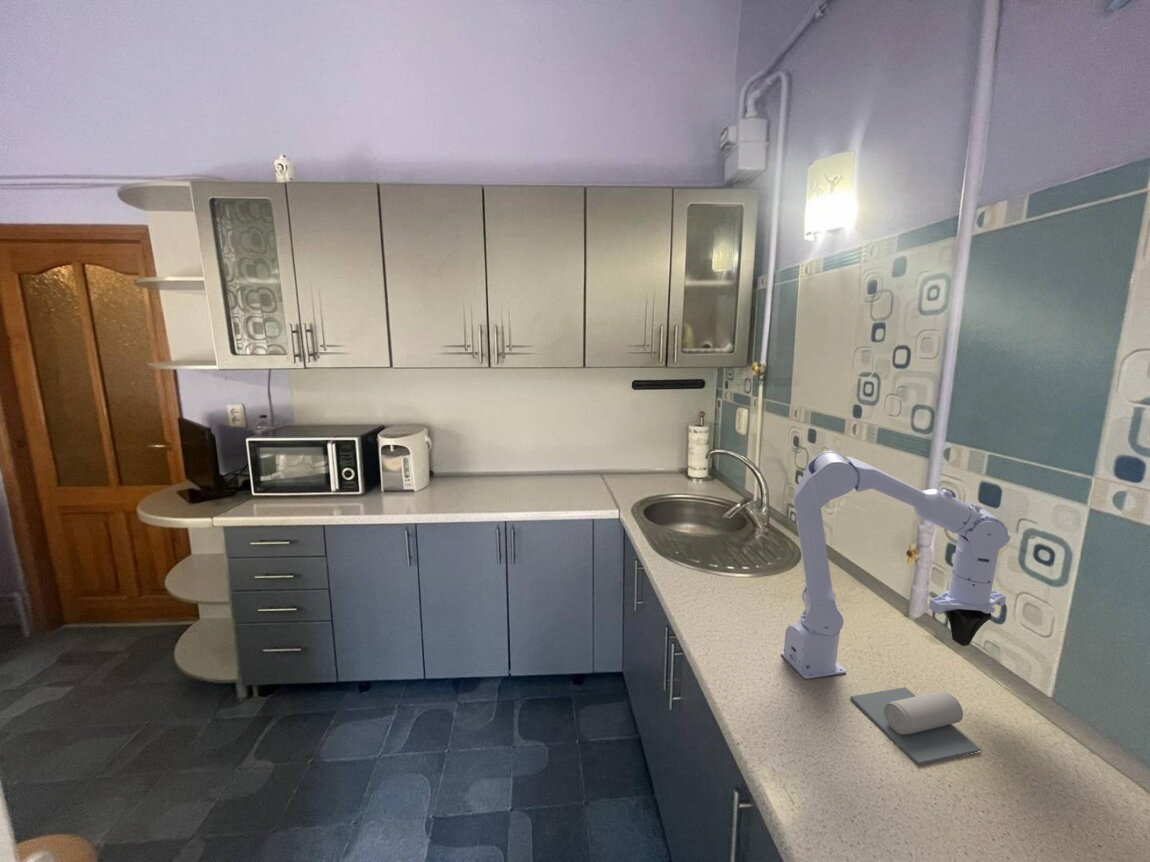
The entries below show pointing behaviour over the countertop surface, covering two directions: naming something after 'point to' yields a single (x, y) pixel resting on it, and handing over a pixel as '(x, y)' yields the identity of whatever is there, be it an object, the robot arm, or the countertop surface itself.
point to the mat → (919, 744)
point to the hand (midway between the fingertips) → (960, 642)
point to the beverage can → (923, 712)
